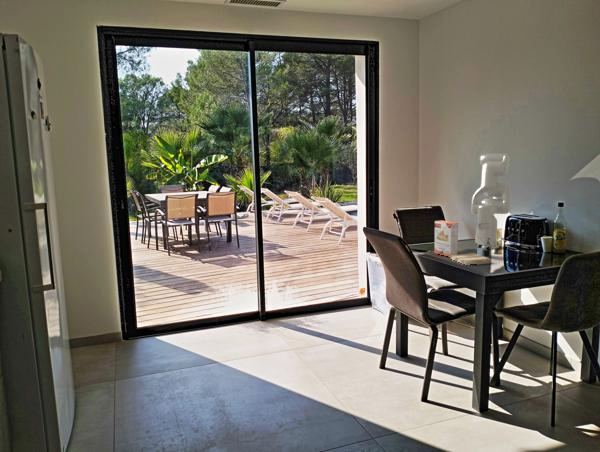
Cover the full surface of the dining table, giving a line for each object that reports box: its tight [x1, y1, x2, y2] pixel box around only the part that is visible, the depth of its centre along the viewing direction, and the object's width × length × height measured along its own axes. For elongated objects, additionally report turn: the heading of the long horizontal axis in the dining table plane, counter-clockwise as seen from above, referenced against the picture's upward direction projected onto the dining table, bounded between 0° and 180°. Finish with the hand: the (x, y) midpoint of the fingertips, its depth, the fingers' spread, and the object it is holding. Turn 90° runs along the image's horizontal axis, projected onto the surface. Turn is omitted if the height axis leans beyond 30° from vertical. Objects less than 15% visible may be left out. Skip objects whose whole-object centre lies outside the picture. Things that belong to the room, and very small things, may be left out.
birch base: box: [449, 252, 492, 266], centre depth 277 cm, size 16×16×2 cm
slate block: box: [476, 247, 491, 256], centre depth 288 cm, size 5×5×5 cm
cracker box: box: [433, 219, 459, 258], centre depth 292 cm, size 14×6×21 cm, turn 27°
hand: (483, 255), depth 288 cm, fingers open, 6 cm apart
